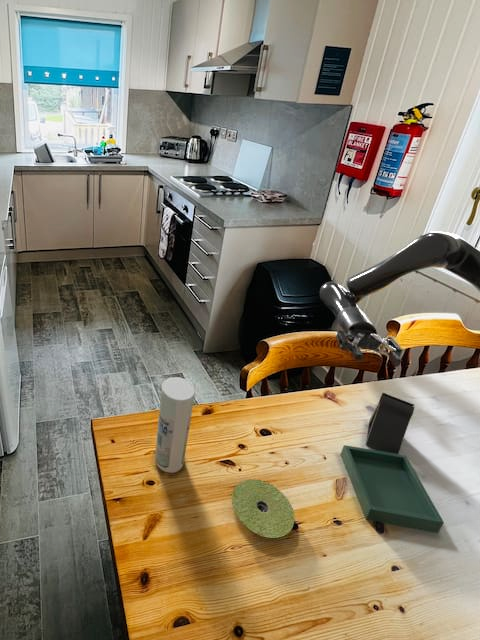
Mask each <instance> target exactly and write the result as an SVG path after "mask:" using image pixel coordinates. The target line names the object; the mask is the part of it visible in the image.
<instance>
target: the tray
mask: <svg viewBox="0 0 480 640" xmlns="http://www.w3.org/2000/svg"><path fill="white" fill-rule="evenodd" d="M340 457H341V460H342V463H343V465H344V468H345V471H346V472H347V476H348V478H349V480H350V484H351V485H352V489H353V491H354V494H355V495H356V498H357V501H358V503H359V506H360V509H361V511H362V513H363V517H364V519H365V520H366V521H371V522H372V521H373V522H377V523H383V524H388V525H393V526H399V527H405V528H410V529H415V530H421V531H425V532H431V533H435V534H436V533H437V534H439V533H440V531H441V529H442V528H443V526H444V524H445V522H444V520H443V518H442V516H441V515H440V513H439V511H438V510H437V507H436V505H435V504H434V502H433V501H432V499H431V497H430V495H429V494H428V492H427V490H426V488H425V486H424V484H423V483H422V481H421V480H420V478H419V476H418V474H417V472H416V471H415V469H414V467H413V465H412V464H411V461H410V460H409V458H408V457H407V455H406V454H401V453H398V454H396V453H389V452H383V451H379V450H377V449H372V448H365V447H358V446H352V445H346V444H345V445H344V444H343V445H342V449H341V452H340Z"/></svg>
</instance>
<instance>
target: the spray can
mask: <svg viewBox="0 0 480 640" xmlns="http://www.w3.org/2000/svg"><path fill="white" fill-rule="evenodd" d="M195 395H196V389H195V387H194V385H193V383H192V382H191V381H189V380H188V379H186V378H183V377H180V376H179V377H178V376H173V377H169V378H167V379H165V380H164V381H163V382H162V385H161V391H160V399H159V400H160V402H159V411H158V422H157V432H156V440H155V441H156V443H155V452H154V460H155V464H156V466H157V467H158V468H159V469H160V470H161V471H163V472H166V473H171V474H172V473H176V472H179V471H180V470H181V469H182V468H183V466H184V463H185V458H186V452H187V445H188V438H189V433H190V426H191V421H192V415H193V414H192V413H193V408H194V402H195V397H196V396H195Z"/></svg>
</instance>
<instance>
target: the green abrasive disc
mask: <svg viewBox="0 0 480 640" xmlns="http://www.w3.org/2000/svg"><path fill="white" fill-rule="evenodd" d="M231 504H232V507H233V510H234V512H235V515H236V516H237V518H238V519H239V520H240V522H241V523H242V524H243V525H244V526H245V527H246V528H247V529H249V530H250V531H251V532H253V533H254V534H256V535H258V536H260V537H265V538H269V539H275V538H282V537H285V536H286V535H287V534H289V533H290V532H291V530H292V529H293V527H294V525H295V513H294V508H293V506H292V504H291V502H290V500H289V499H288V498H287V497H286V495H285V494H284V493H283V492H282V491H281V490H280V489H279V488H277V487H276V486H274V484H272V483H270V482H267V481H265V480H262V479H255V478H253V479H252V478H249V479H245V480H242V481H240V482H239V483H238V484H236V485H235V486H234V489H233V491H232V495H231Z"/></svg>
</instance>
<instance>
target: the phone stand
mask: <svg viewBox="0 0 480 640" xmlns="http://www.w3.org/2000/svg"><path fill="white" fill-rule="evenodd" d="M414 412H415V403H411V402H409V401H407V400H404V399H401V398H399V397H396V396H393V395H390V394H388V393H386V392H382V393H381V396H380V398H379V400H378V403H376V406H375V408H374V411H373V412H372V415H371V416H370V418H369V421H368V428H367V434H366V440H365V445H366V446H367V447H369V448H371V449H373V450H377V451H383V452H389V453H396V454H399V452H400V449H401V447H402V443H403V441H404V438H405V435H406V432H407V430H408V428H409V427H408V426H409V424H410V421H411V420H412V419H411V418H412V416H413V415H414Z"/></svg>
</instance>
